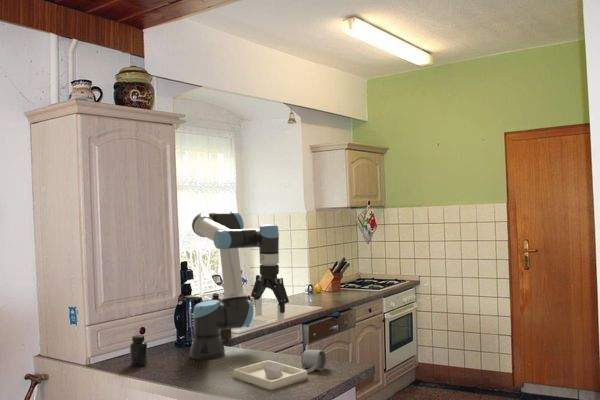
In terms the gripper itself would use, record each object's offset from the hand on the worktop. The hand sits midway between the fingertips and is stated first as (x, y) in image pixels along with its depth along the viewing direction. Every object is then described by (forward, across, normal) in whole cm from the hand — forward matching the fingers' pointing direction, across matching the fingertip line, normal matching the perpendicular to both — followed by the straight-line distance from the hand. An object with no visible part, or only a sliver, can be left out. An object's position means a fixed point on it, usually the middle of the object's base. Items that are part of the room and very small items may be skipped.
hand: (269, 318), depth 220 cm
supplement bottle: (+22, -47, -32) cm, 61 cm away
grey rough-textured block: (+20, +7, -4) cm, 22 cm away
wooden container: (+23, -64, +19) cm, 71 cm away
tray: (+21, +6, -5) cm, 22 cm away
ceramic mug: (+21, +10, +14) cm, 27 cm away
